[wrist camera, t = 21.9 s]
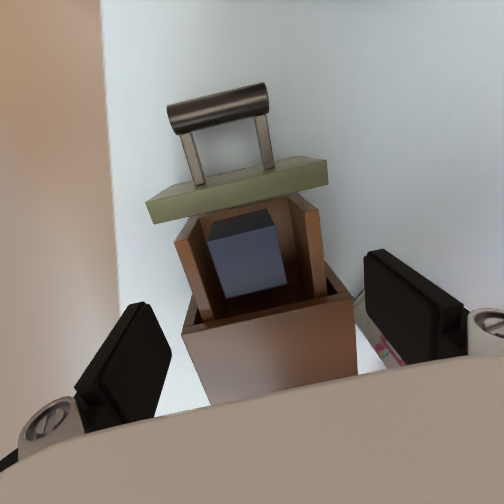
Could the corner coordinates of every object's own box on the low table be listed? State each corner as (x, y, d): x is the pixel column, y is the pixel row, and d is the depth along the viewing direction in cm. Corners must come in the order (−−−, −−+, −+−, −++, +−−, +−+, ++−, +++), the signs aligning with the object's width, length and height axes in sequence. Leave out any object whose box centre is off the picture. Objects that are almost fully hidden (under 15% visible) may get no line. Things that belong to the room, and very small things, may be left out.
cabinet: (197, 274, 21) (180, 334, 15) (315, 248, 21) (354, 297, 14) (230, 367, 26) (228, 446, 19) (327, 347, 26) (360, 419, 19)
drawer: (149, 121, 16) (107, 109, 11) (290, 87, 16) (318, 58, 10) (211, 304, 22) (204, 354, 16) (315, 281, 21) (341, 325, 16)
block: (266, 208, 18) (275, 224, 14) (277, 257, 19) (287, 284, 15) (212, 221, 18) (206, 241, 14) (227, 269, 19) (225, 299, 16)
